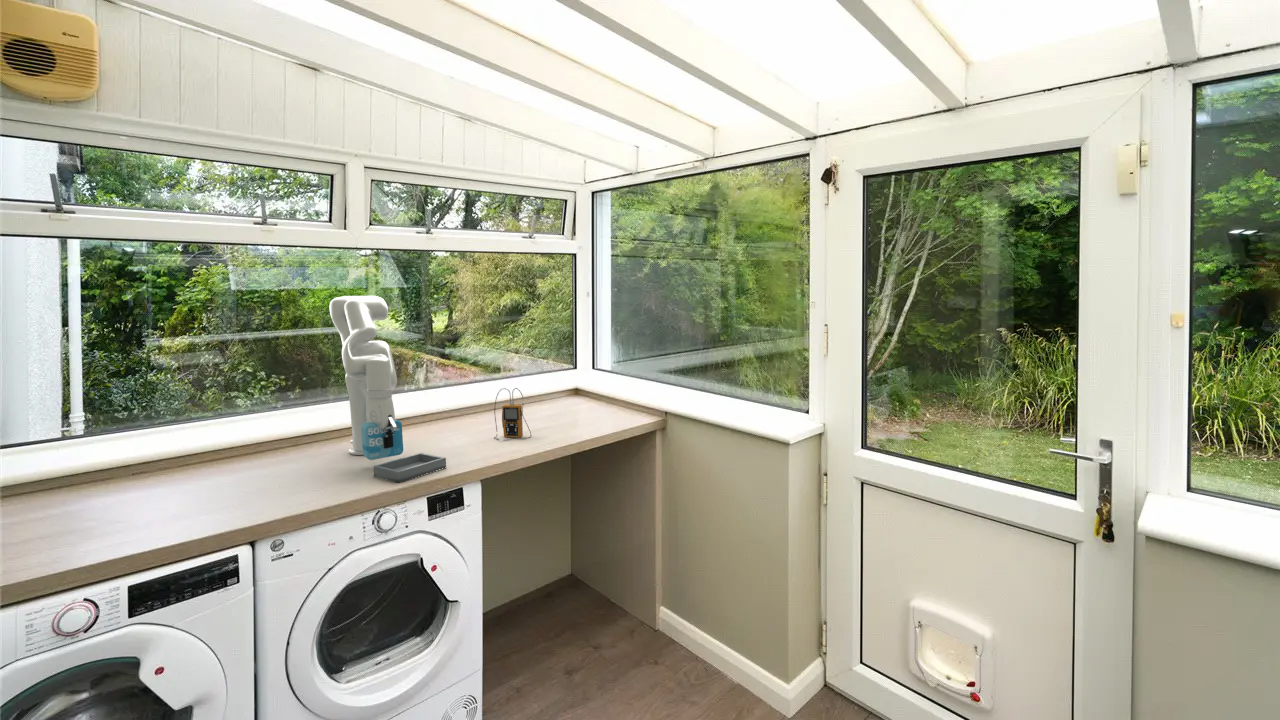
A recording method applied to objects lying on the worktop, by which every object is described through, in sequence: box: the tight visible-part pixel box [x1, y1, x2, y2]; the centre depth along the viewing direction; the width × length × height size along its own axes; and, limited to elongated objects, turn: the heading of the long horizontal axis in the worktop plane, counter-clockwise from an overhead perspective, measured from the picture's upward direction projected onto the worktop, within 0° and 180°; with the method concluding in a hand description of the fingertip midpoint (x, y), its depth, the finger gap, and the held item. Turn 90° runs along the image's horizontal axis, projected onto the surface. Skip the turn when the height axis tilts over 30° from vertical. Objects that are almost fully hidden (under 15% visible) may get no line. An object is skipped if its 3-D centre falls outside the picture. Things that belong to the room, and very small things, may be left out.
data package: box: [361, 418, 404, 461], centre depth 202 cm, size 12×4×12 cm, turn 131°
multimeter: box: [493, 387, 532, 442], centre depth 235 cm, size 15×10×20 cm
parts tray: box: [372, 452, 447, 484], centre depth 194 cm, size 13×18×4 cm
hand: (383, 445), depth 202 cm, fingers closed on data package, 5 cm apart
